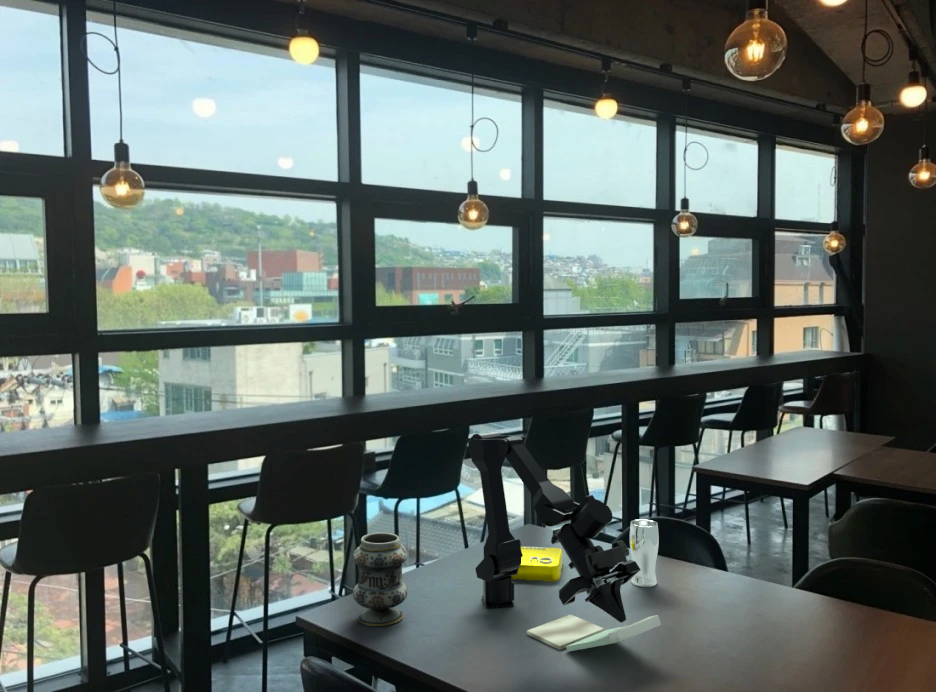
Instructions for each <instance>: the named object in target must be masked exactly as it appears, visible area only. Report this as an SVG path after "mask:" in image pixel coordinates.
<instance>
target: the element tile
mask: <svg viewBox="0 0 936 692" xmlns="http://www.w3.org/2000/svg"><path fill="white" fill-rule="evenodd" d="M521 551H522V554H523V557H521V558H522V562H521V564H520V566H519V569H518V573H517V575H512V576H511V577H512V580H516V579H525V580H524V581H534V580H544V581H543V582H558V581H559V580H560V579H561V574H562V570H561V569H563V565H564V564H563V560H564V559H563V558H564V557H563V550H562V549H561V548H559V547H542V546H541V547H539V546H524V545H523V546H522V545H521ZM562 564H563V565H562ZM557 580H558V581H557Z"/></svg>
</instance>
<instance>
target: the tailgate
mask: <svg viewBox="0 0 936 692" xmlns="http://www.w3.org/2000/svg"><path fill="white" fill-rule="evenodd" d="M659 626H662V621H661V620H660V617H659V615H658V614H657V615H651V616H647V617H646V618H644V619H640V620H638V621H636V622H633V623H630V624H628V625H625V626H624V625H623V626H620V627H615V628H610V629H604V631H603V632H600V633H598V634H595V635H593V636H590V637H588V638H586V639H583V640H581V641H578V642H576V643H573V644H571V645H568V646H566V648H565V649H566V651H567V652H573V651H579V650H586V649H589V648H590V649H591V648H595V647H601V646H607V645H611V644H617V643H622V642H624V641H626V640H629V639H631V638H633V637H636V636H638V635H641V634H642V633H645V632H648V631H650V630H651V629H654V628H657V627H659Z"/></svg>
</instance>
